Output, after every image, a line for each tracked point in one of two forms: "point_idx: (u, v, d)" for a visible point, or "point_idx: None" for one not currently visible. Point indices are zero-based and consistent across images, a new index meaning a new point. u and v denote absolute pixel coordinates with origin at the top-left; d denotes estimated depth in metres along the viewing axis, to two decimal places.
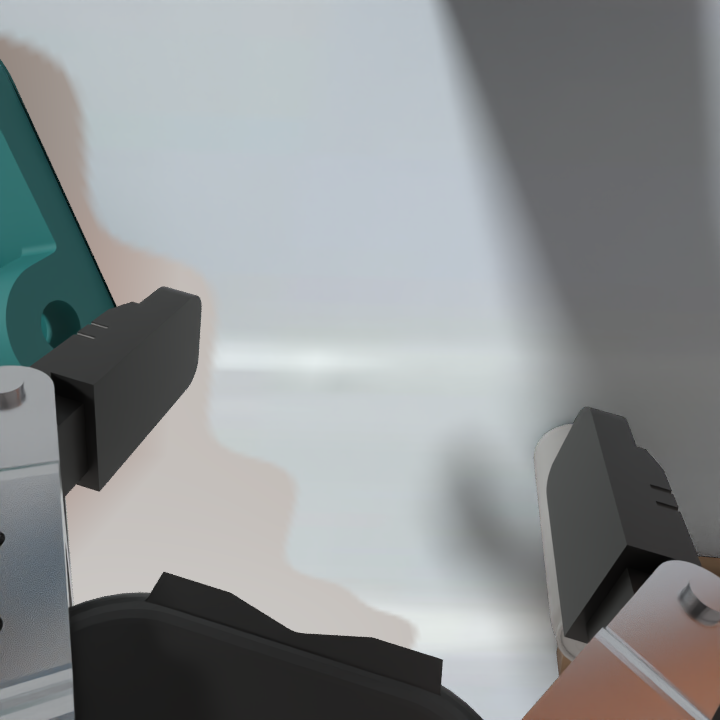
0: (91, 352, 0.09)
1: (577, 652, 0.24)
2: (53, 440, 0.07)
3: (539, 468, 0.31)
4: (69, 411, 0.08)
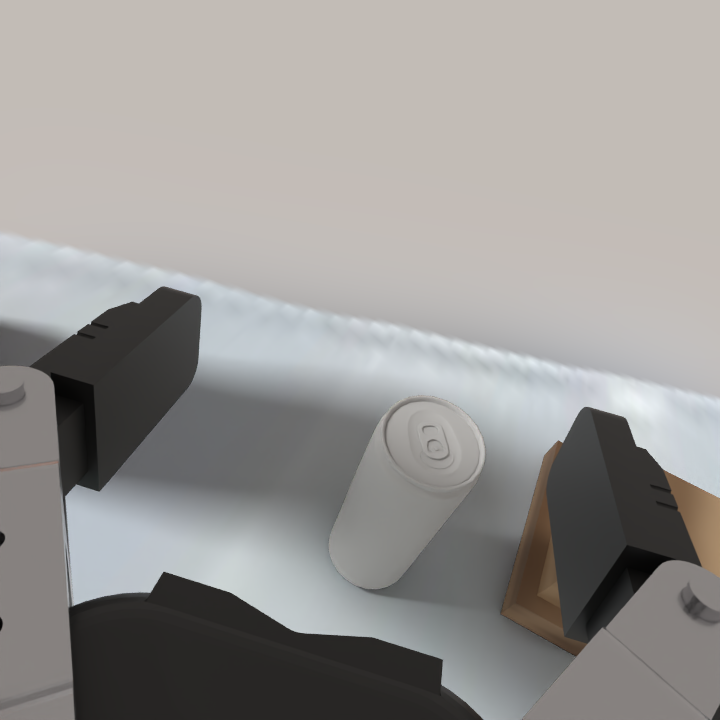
0: (91, 352, 0.09)
1: (448, 478, 0.23)
2: (53, 440, 0.07)
3: (348, 561, 0.29)
4: (69, 411, 0.08)
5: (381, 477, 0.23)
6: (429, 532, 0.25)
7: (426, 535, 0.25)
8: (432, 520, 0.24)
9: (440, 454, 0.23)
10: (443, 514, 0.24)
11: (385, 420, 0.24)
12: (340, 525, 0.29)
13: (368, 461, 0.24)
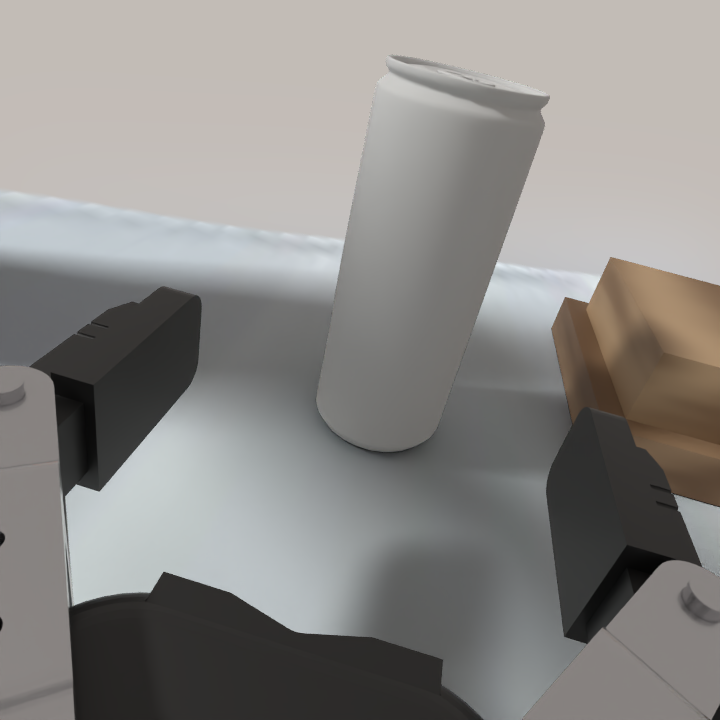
0: (91, 352, 0.09)
1: None
2: (53, 440, 0.07)
3: (358, 390, 0.18)
4: (69, 411, 0.08)
5: (405, 119, 0.14)
6: (485, 250, 0.16)
7: (480, 260, 0.16)
8: (493, 202, 0.15)
9: None
10: (507, 185, 0.15)
11: (390, 57, 0.15)
12: (336, 332, 0.19)
13: (375, 131, 0.15)
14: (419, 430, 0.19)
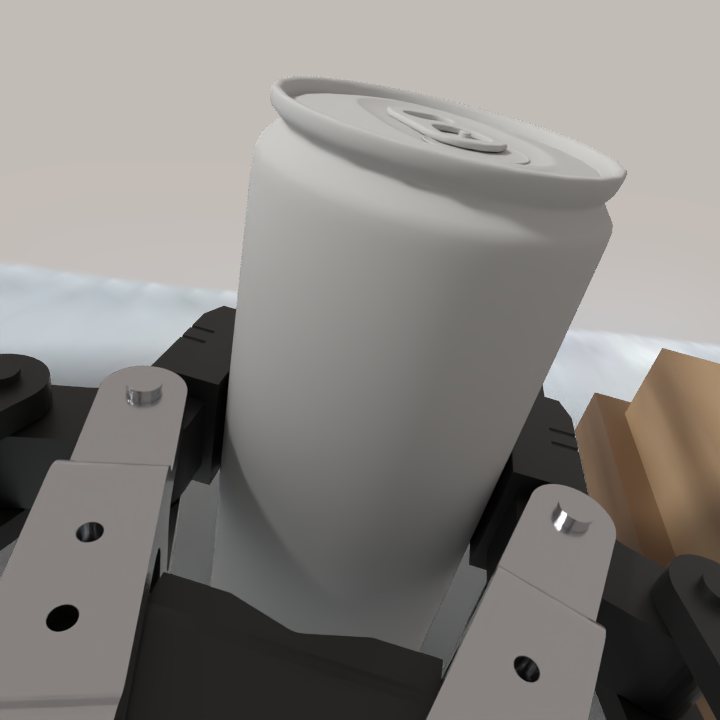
0: (207, 354, 0.10)
1: None
2: (173, 444, 0.07)
3: None
4: (194, 409, 0.09)
5: (300, 231, 0.06)
6: (483, 472, 0.08)
7: (474, 489, 0.08)
8: (501, 397, 0.07)
9: (481, 147, 0.07)
10: (532, 362, 0.07)
11: (283, 83, 0.07)
12: (217, 566, 0.10)
13: (250, 241, 0.07)
14: None
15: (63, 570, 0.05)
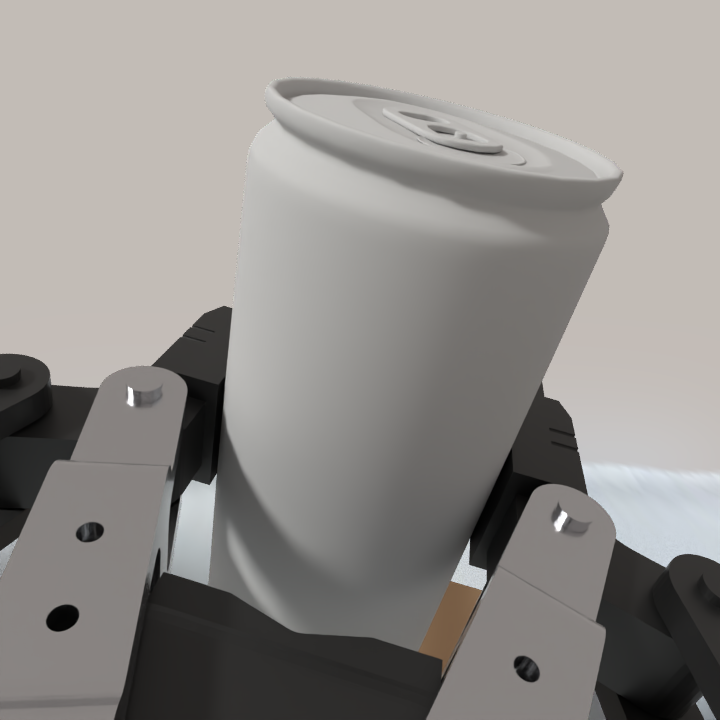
0: (207, 354, 0.09)
1: None
2: (173, 444, 0.07)
3: None
4: (195, 409, 0.09)
5: (294, 233, 0.06)
6: (480, 474, 0.08)
7: (471, 491, 0.08)
8: (496, 398, 0.07)
9: (478, 148, 0.07)
10: (529, 364, 0.07)
11: (278, 84, 0.07)
12: (214, 568, 0.10)
13: (245, 242, 0.07)
14: None
15: (63, 570, 0.05)
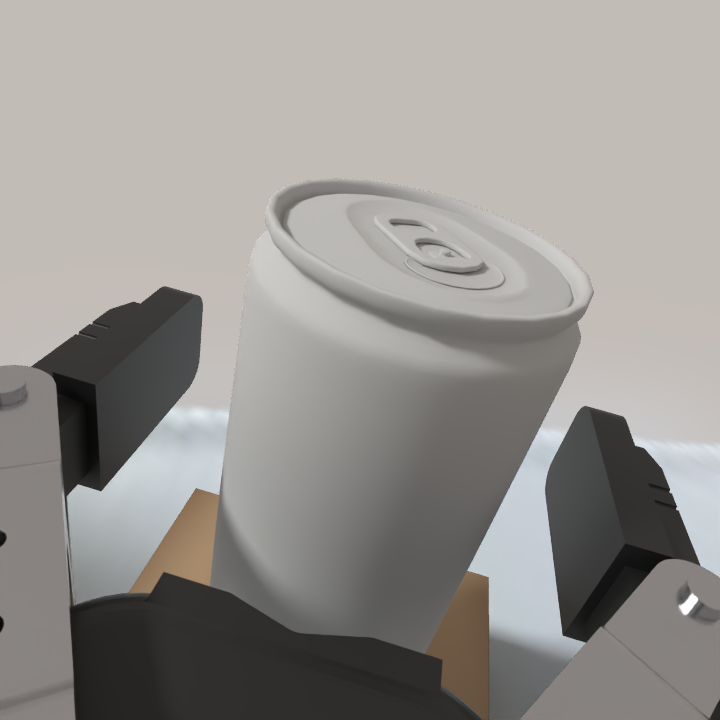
0: (93, 352, 0.09)
1: (513, 305, 0.07)
2: (55, 440, 0.07)
3: None
4: (71, 411, 0.08)
5: (291, 354, 0.07)
6: (461, 554, 0.09)
7: (452, 568, 0.09)
8: (475, 494, 0.08)
9: (461, 266, 0.08)
10: (505, 463, 0.08)
11: (277, 200, 0.08)
12: None
13: (245, 346, 0.08)
14: None
15: None
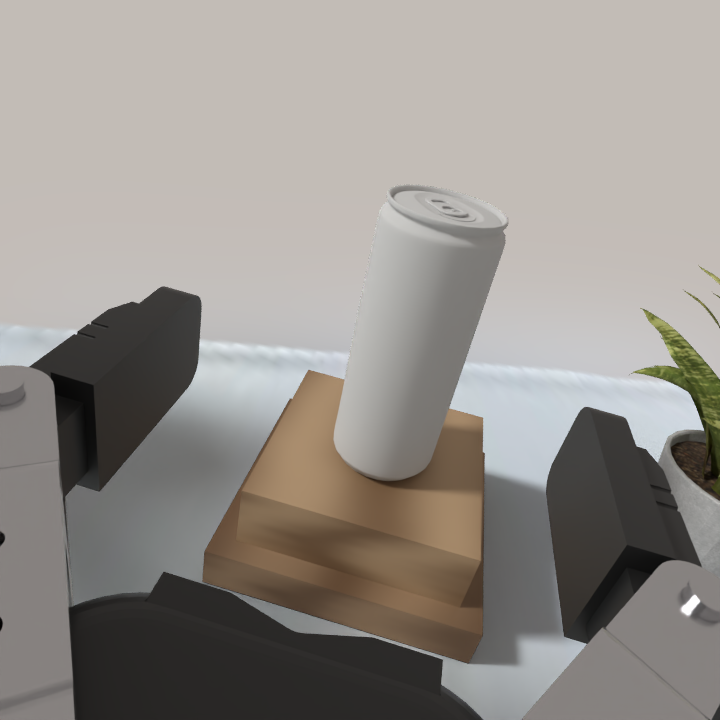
0: (91, 352, 0.09)
1: (477, 226, 0.20)
2: (53, 440, 0.07)
3: (368, 435, 0.24)
4: (69, 411, 0.08)
5: (401, 244, 0.20)
6: (463, 332, 0.21)
7: (459, 339, 0.21)
8: (467, 300, 0.20)
9: (459, 214, 0.20)
10: (477, 287, 0.20)
11: (390, 193, 0.21)
12: (349, 389, 0.24)
13: (379, 247, 0.21)
14: (416, 464, 0.25)
15: None
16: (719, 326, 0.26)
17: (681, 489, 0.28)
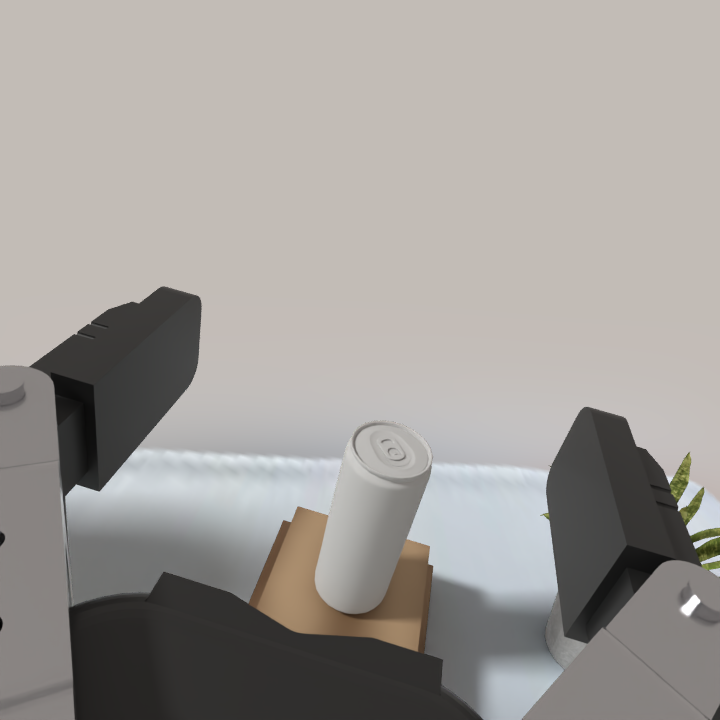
0: (91, 352, 0.09)
1: (409, 471, 0.29)
2: (53, 439, 0.07)
3: (338, 587, 0.34)
4: (69, 411, 0.08)
5: (358, 482, 0.29)
6: (402, 529, 0.31)
7: (400, 533, 0.31)
8: (403, 514, 0.30)
9: (399, 457, 0.30)
10: (411, 506, 0.30)
11: (352, 440, 0.30)
12: (325, 554, 0.34)
13: (344, 477, 0.30)
14: (373, 603, 0.35)
15: None
16: None
17: None
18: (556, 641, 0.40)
